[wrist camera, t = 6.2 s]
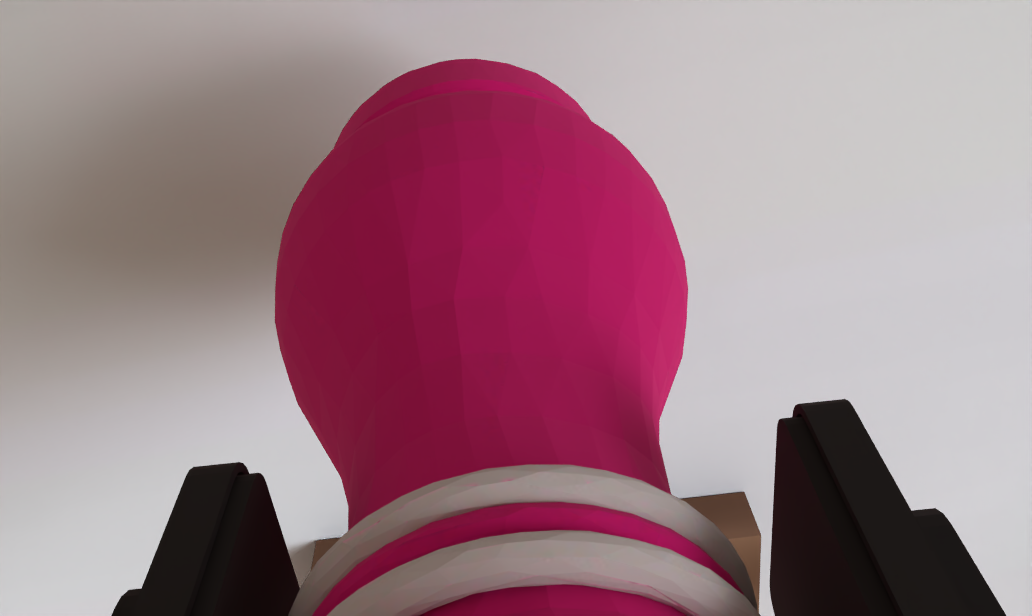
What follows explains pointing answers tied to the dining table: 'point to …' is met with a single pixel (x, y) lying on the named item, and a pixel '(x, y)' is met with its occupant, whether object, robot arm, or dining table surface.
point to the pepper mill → (493, 361)
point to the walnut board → (720, 509)
